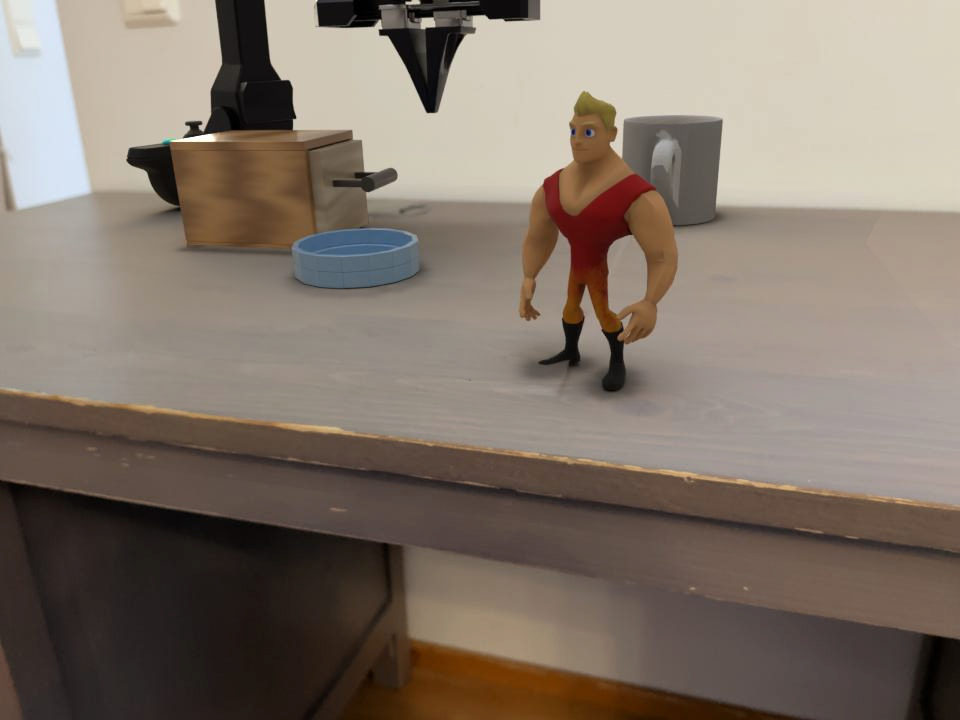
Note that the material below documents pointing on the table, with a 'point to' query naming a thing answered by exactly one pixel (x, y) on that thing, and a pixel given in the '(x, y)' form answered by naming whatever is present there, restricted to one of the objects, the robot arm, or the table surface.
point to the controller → (161, 164)
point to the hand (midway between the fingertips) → (432, 112)
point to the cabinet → (248, 186)
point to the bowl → (356, 257)
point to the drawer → (343, 185)
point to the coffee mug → (677, 161)
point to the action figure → (598, 235)
